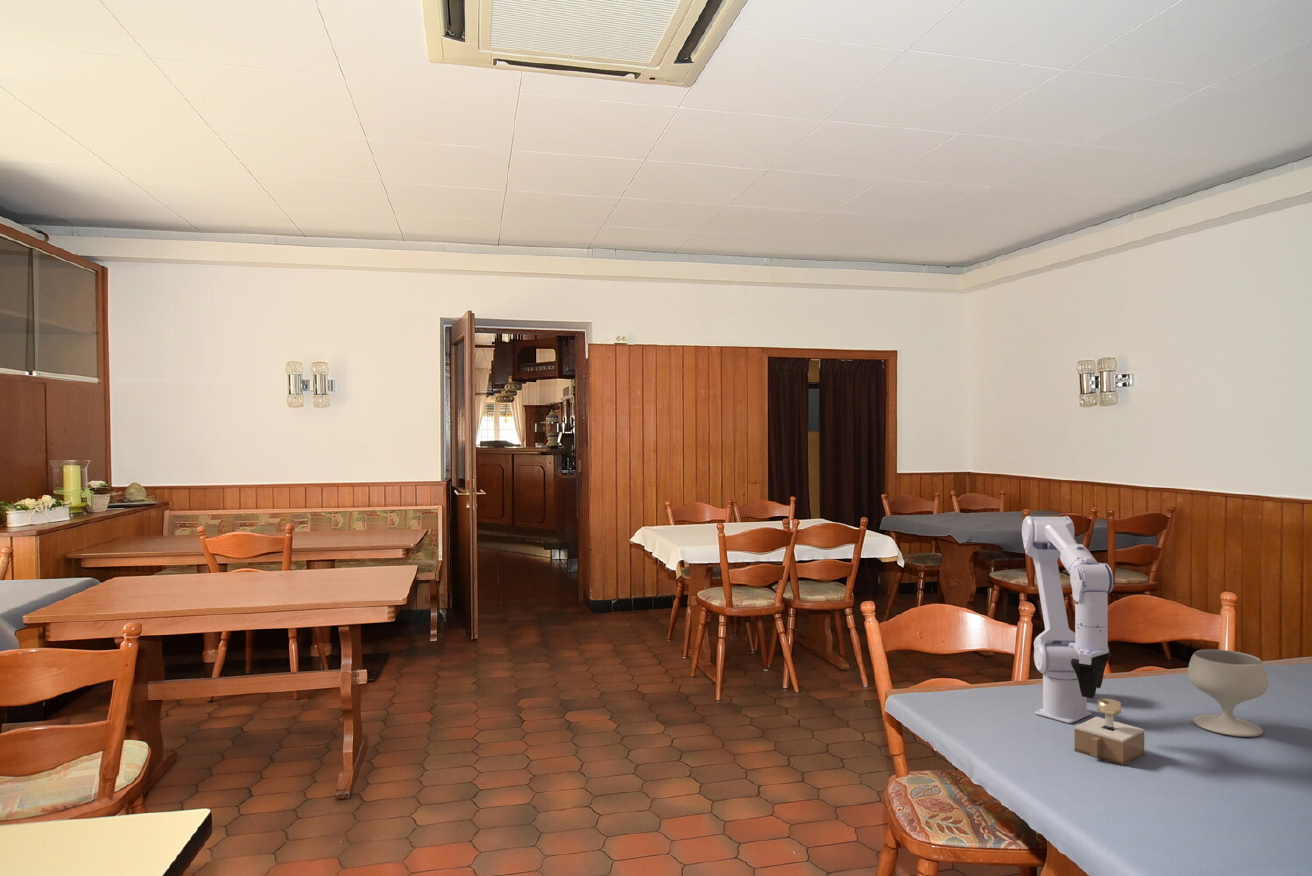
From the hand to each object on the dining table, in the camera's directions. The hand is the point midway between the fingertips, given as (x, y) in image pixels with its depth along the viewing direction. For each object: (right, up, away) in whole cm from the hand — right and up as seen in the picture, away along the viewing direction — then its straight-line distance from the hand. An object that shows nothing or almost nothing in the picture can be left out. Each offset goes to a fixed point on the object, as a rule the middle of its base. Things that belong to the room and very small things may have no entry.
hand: (1091, 692), depth 164 cm
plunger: (+1, -7, -4) cm, 8 cm away
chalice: (+33, -10, +8) cm, 36 cm away
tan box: (+1, -10, -4) cm, 11 cm away
